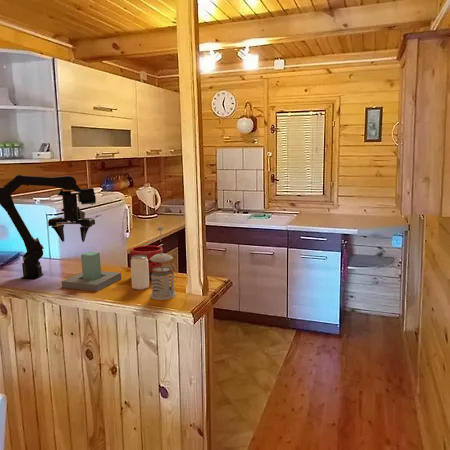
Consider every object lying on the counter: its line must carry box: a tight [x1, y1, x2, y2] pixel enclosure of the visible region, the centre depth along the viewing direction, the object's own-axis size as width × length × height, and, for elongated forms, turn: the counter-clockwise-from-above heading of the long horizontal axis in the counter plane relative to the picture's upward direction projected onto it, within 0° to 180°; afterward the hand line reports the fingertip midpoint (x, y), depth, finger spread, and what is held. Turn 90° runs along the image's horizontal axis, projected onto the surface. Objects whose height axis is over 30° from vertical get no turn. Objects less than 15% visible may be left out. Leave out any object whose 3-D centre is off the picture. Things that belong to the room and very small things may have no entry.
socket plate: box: [61, 270, 122, 292], centre depth 174 cm, size 16×16×2 cm
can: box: [130, 255, 150, 291], centre depth 167 cm, size 6×6×12 cm
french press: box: [149, 226, 178, 301], centre depth 156 cm, size 10×12×25 cm
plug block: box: [80, 251, 102, 281], centre depth 173 cm, size 5×5×12 cm
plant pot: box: [129, 245, 164, 280], centre depth 181 cm, size 13×13×12 cm
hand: (73, 241), depth 189 cm, fingers open, 9 cm apart
